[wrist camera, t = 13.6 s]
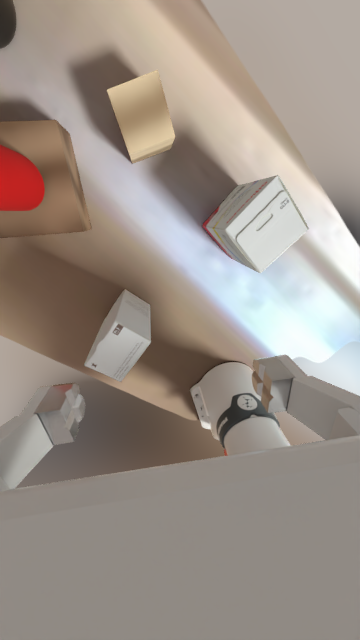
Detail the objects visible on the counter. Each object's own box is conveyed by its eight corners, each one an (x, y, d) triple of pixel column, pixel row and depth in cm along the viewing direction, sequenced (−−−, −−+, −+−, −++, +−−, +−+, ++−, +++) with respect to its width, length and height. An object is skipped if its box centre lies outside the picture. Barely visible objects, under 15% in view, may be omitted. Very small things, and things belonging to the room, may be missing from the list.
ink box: (230, 259, 40) (260, 276, 30) (200, 224, 37) (222, 229, 26) (267, 224, 38) (312, 228, 28) (238, 183, 35) (278, 171, 24)
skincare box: (128, 334, 44) (121, 385, 31) (101, 319, 42) (81, 368, 29) (151, 302, 42) (154, 344, 29) (124, 285, 40) (113, 321, 26)
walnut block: (91, 229, 35) (83, 231, 30) (12, 235, 34) (-8, 238, 29) (69, 133, 29) (55, 119, 25) (-26, 137, 28) (-58, 123, 24)
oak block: (170, 149, 32) (175, 136, 26) (132, 163, 32) (129, 154, 27) (155, 95, 29) (157, 69, 24) (113, 112, 29) (106, 89, 24)
